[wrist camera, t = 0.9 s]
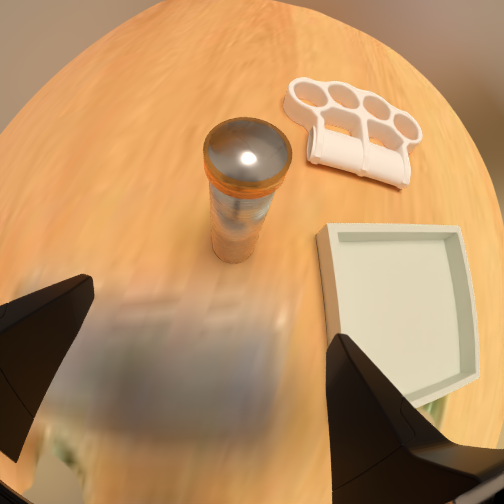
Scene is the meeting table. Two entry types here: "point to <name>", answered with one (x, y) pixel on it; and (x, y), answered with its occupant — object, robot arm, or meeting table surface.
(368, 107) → the white brass knuckles
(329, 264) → the tray
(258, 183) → the grey cylinder
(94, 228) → the meeting table surface
